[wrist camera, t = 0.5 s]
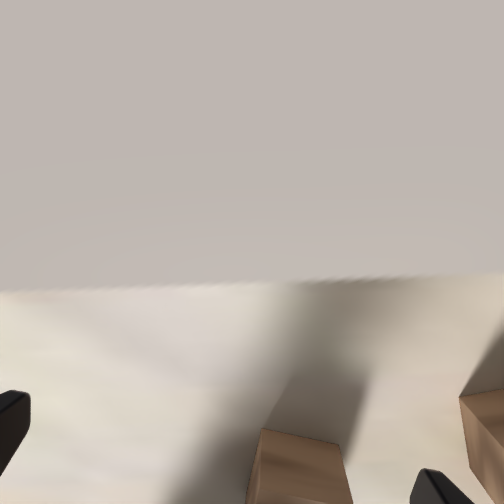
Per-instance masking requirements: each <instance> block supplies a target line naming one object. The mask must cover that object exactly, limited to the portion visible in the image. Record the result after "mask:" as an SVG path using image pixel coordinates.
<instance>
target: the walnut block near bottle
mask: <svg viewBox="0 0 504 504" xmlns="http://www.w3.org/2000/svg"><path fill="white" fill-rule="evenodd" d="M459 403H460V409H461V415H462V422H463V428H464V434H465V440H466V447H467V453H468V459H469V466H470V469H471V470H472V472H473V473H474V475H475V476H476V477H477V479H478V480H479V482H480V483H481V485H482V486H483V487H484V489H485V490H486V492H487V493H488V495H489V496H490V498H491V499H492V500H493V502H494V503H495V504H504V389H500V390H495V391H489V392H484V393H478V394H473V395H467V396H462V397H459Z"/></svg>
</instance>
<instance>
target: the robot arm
mask: <svg viewBox="0 0 504 504" xmlns="http://www.w3.org/2000/svg"><path fill="white" fill-rule="evenodd" d="M30 421H31V398H30V395H29V394H28V393H27V392H22V391H16V390H9V391H6V392H4V393H2V394H0V476H1V475H2V473H3V472H4V470H5V468H6V467H7V465H8V463H9V462H10V460H11V458H12V457H13V455H14V454H15V452H16V450H17V449H18V447H19V445H20V444H21V442H22V441H23V439H24V437H25V436H26V434H27V432H28V430H29V427H30ZM410 504H474V503H473V502H472V501H471V500H470V499H469V498H468V497H467V496H466V495H465V494H464V493H463V492H462V491H461V490H460V489H459V488H458V487H457V486H456V485H455V484H454V483H452V482H451V481H450V480H449V479H448V478H447V477H446V476H445V475H444V474H443V473H442V472H440V471H437V470H432V469H426V468H424V469H421V470H420V472H419V474H418V476H417V479H416V482H415V484H414V487H413V490H412V492H411V495H410Z"/></svg>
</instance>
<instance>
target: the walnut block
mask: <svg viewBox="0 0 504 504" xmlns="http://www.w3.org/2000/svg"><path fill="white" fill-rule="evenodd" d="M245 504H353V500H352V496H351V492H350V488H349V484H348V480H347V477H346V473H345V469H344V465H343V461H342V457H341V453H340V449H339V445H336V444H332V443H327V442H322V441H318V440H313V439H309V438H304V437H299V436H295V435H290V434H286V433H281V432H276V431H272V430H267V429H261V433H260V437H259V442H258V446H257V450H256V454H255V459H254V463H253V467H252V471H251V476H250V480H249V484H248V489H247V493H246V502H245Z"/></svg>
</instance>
